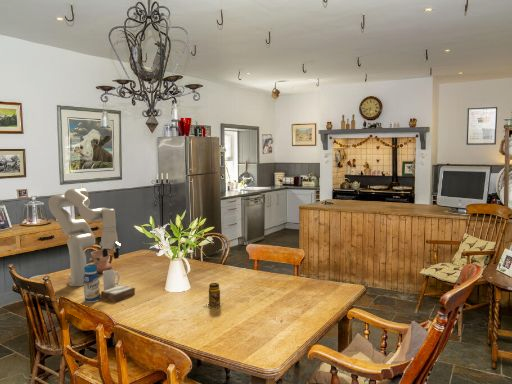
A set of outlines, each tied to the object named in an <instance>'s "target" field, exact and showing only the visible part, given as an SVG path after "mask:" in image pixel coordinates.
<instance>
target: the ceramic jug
mask: <svg viewBox="0 0 512 384" xmlns="http://www.w3.org/2000/svg"><path fill="white" fill-rule="evenodd" d="M106 250H107V252H108V256H106V257H103V250H102V249H100V250H99V249H98V250H95V251H92V252H90V256H91V257H89V259H88V260H89V261H93V262H94V263H93V264H95V265H97V271H96V272H97V273H98V274H103V271H106V270H112V268H113V265H112V261H113V255H112V254H111V253H110V249H106Z"/></svg>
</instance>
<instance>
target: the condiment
mask: <svg viewBox="0 0 512 384" xmlns="http://www.w3.org/2000/svg"><path fill="white" fill-rule="evenodd" d="M207 303H209V304H208V305H209V306H210V307H208V306H207ZM207 303H206V304H205V305H206V306H205V305H203V308H204V307H205V308H211V307H216V308H215V309H218V308H220V307H221V306H222V305H223V302H221V289H220V284H219V282H211V283H209V286H208V302H207ZM220 305H221V306H220ZM219 306H220V307H219ZM217 307H218V308H217Z"/></svg>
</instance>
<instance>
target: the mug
mask: <svg viewBox="0 0 512 384" xmlns="http://www.w3.org/2000/svg"><path fill="white" fill-rule="evenodd" d="M116 276H117V281H116V280H115V279H116ZM120 278H121V277H120V274H119V271H117V270H116V271H115V270H114V269H111V270H106V271H103V273H102V280H103V281H102V282H103V291H104V290H107V289H110V288H113V287H115V286H118V285H119V282H120Z"/></svg>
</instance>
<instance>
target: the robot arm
mask: <svg viewBox="0 0 512 384" xmlns="http://www.w3.org/2000/svg"><path fill="white" fill-rule="evenodd" d="M47 204H48V208H49V211H50V214H52V216H54V218H55V219H56V221H57V223H58V225H59V227H60V228H61V230H62V232H63V234H64V235H65V236H69V237H68V239H67V240H66V241H67V242H66V243H67V247H68V252H69V253H68V254H69V262H70V263H69V264H70V265H69V266H70V276H68V280H70V281H69V282H68V286H69V287H82V286H83V287H84V275H85V270H84V267H85V266H86V265H88V264H87V254H86V253H85V251H84V249H86V248H91V247H93V246H94V245H95V244H96V237H95V234H94V233H93V231H92V229H91V227H90V225H89V224H88V222H91V223H92V222H98V221H101V222H102V223H101V225H102V231H101V236H100V237H101V239H100V240H101V241H100V242H99V245H100V249H101V250H103V257H106V256H108V252H107V250H113V259H115V260H117V259H119V257H120V255H119V253H120V250H121V247H122V245H121V243H119V239H118V233H117V223H116V210H115V209H114V208H107V207H97V208H96V207H95V208H89V206H90V204H91V200H90V198H89V191H87V189H86V188H84V187H79V188H70V189H67V190H66V191H65V192H64V193H61V194H60V193H59V194H55V195H52V196H51V197H50V198H49V199H48V203H47ZM73 206H74V207H76V208H77V210H78V214H79V215H80V217H81V218H77V219H74V218H73V217H72V215H71V213H70V212H68V211H67V210H66V209H65V208H66V207H69V208H70V207H73ZM87 221H88V222H87Z"/></svg>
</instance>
